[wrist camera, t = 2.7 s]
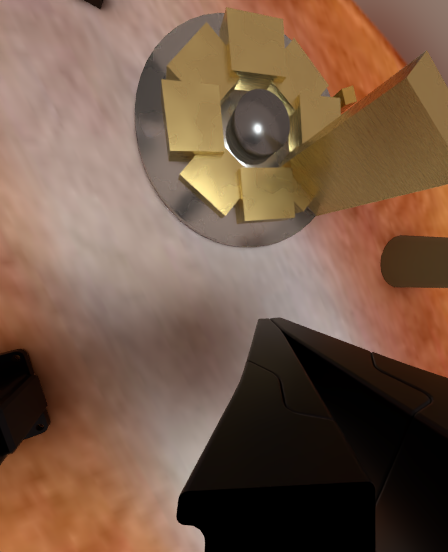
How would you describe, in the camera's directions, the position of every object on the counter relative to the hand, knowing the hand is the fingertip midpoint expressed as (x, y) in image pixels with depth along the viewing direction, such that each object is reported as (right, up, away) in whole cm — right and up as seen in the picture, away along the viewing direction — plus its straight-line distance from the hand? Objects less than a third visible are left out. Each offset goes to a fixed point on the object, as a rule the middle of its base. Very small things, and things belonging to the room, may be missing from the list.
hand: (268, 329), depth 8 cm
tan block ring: (+1, +13, +10) cm, 16 cm away
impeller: (0, +14, +11) cm, 18 cm away
